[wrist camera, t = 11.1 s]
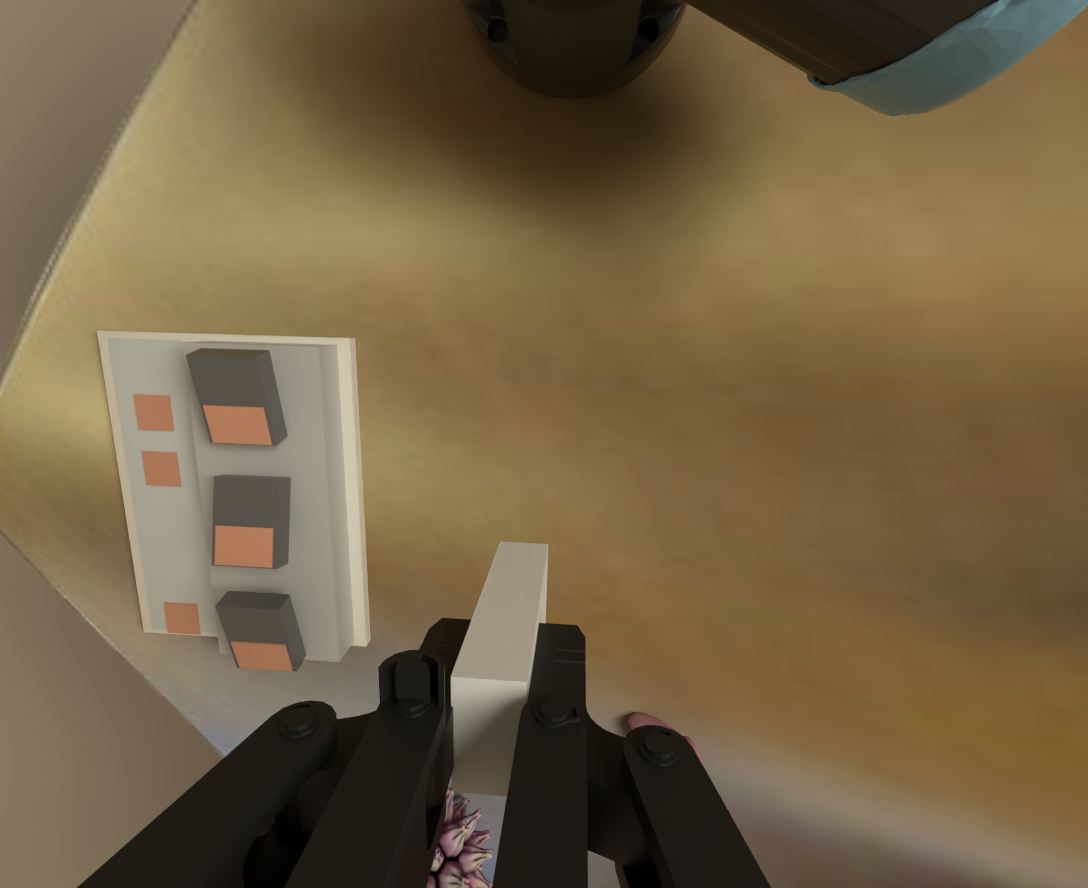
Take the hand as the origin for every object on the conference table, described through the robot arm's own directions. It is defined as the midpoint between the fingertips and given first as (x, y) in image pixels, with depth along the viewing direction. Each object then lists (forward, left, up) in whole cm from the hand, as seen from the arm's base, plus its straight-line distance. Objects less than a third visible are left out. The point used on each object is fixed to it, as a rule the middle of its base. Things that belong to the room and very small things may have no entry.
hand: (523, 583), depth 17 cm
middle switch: (+7, -22, -21) cm, 31 cm away
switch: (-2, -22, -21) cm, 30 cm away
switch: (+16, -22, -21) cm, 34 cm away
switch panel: (+7, -26, -26) cm, 38 cm away
